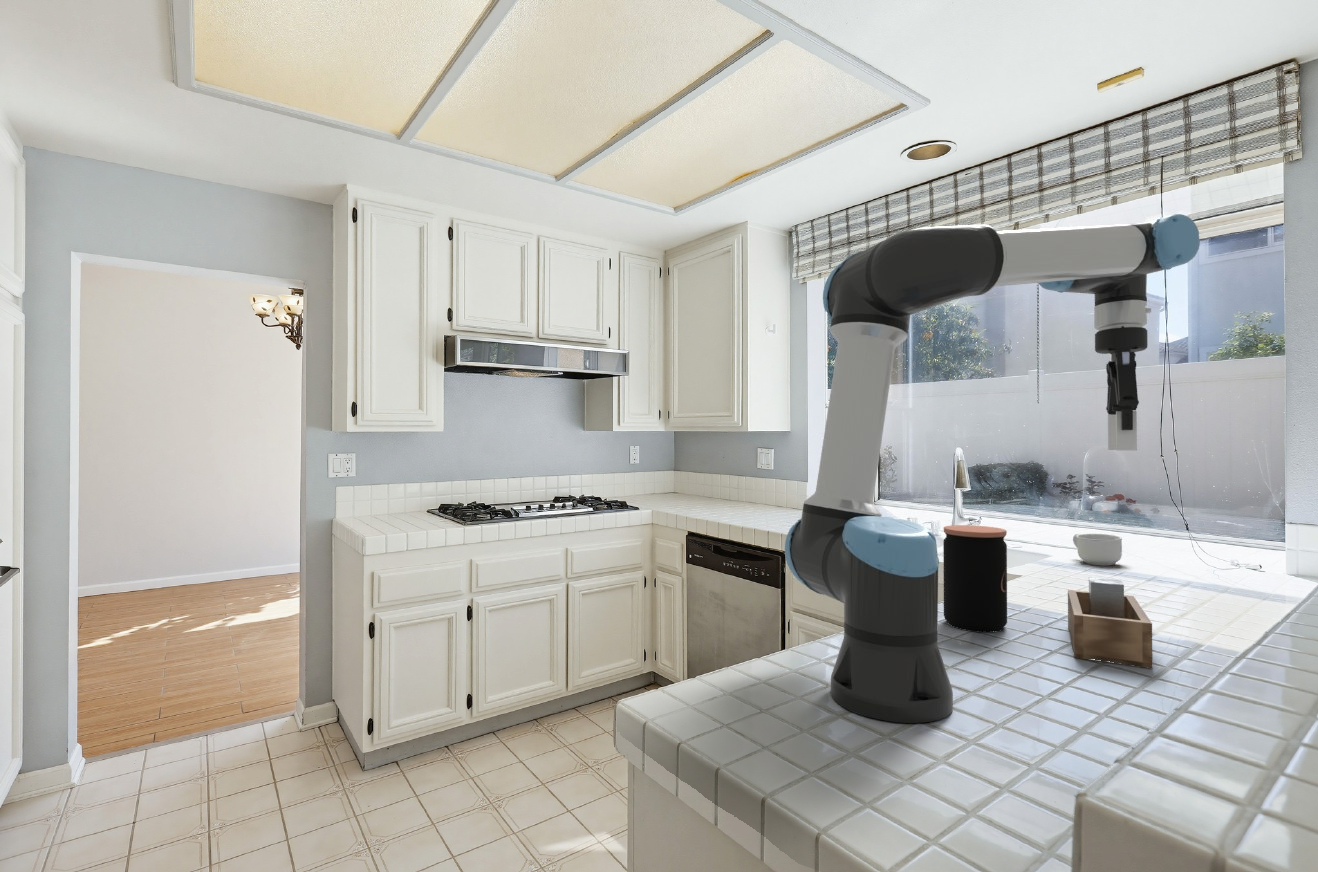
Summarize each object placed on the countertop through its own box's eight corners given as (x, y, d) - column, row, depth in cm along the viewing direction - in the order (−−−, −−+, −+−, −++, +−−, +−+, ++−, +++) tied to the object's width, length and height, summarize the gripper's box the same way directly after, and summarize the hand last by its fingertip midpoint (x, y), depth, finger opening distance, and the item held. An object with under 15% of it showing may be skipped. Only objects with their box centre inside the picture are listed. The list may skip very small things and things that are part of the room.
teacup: (1131, 567, 179) (1131, 538, 179) (1091, 567, 179) (1091, 538, 179) (1098, 558, 193) (1098, 531, 193) (1061, 558, 193) (1061, 531, 193)
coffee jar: (1015, 635, 115) (1015, 533, 115) (951, 631, 117) (950, 531, 117) (996, 619, 125) (996, 525, 125) (937, 616, 127) (937, 524, 128)
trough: (1074, 657, 102) (1074, 614, 103) (1067, 626, 120) (1067, 589, 120) (1152, 668, 98) (1152, 623, 98) (1133, 634, 115) (1133, 595, 115)
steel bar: (1091, 642, 108) (1090, 582, 108) (1089, 635, 112) (1088, 577, 112) (1124, 646, 106) (1123, 584, 106) (1121, 639, 110) (1120, 579, 110)
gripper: (1159, 314, 101) (1160, 450, 101) (1137, 337, 123) (1137, 449, 122) (1101, 319, 105) (1102, 450, 105) (1089, 340, 126) (1090, 449, 126)
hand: (1121, 450), depth 113 cm, fingers open, 13 cm apart
